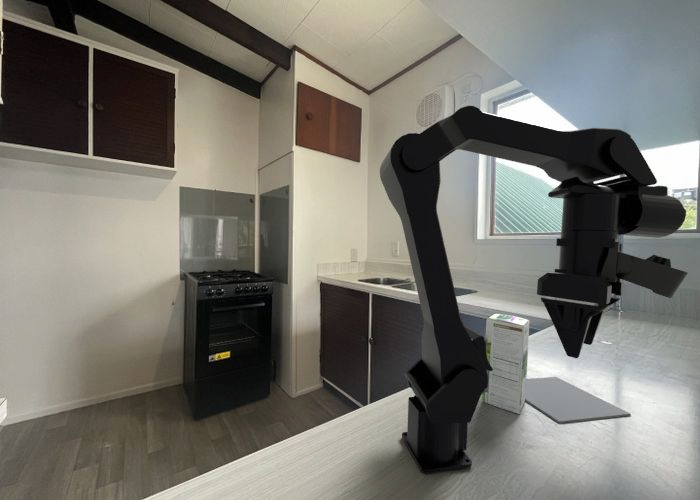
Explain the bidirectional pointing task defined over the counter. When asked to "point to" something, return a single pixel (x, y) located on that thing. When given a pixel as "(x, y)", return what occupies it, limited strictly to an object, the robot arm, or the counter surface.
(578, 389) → the mat
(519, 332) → the syrup box
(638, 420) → the counter surface
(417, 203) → the robot arm
